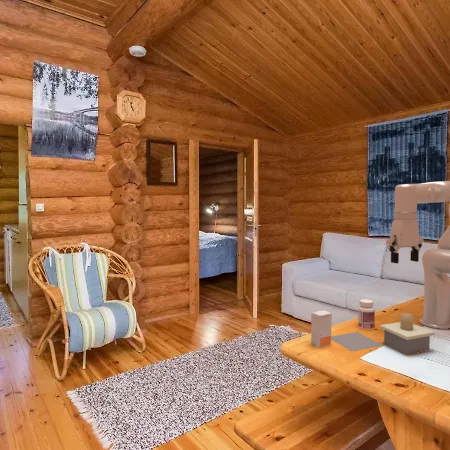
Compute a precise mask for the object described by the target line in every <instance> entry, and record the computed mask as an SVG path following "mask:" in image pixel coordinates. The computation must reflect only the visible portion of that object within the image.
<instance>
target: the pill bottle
mask: <svg viewBox="0 0 450 450" xmlns="http://www.w3.org/2000/svg"><path fill="white" fill-rule="evenodd" d="M357 309H358V310H357V311H358V314H357V315H358V319H357V321H358V322H357V324H358V328H359V329H361V330H367V331H373V330H375V325H376V323H375V322H376V321H375V319H376V318H375V316H376V315H375V314H376V313H375V308H374V301H373V300H371V299H368V298H367V299H366V298H364V299H363V298H362V299H359V307H358V308H357Z"/></svg>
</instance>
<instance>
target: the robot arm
mask: <svg viewBox="0 0 450 450" xmlns="http://www.w3.org/2000/svg"><path fill="white" fill-rule="evenodd" d="M446 202H447V203H448V202H450V180H444V181H443V180H442V181H441V180H439V181H431V182H423V183H404V184H397V185H396V186H395V188H394V220H392V223H391V228H390V235H389V238H388V239H387V240H386V241H385V244H386V247H387V249H388V250H389V252H390V263H391V264H396V265H397V264H399V262H400V261H399V254H400V253H399V250H400V249H401V248H411V250H410V257H409V258H410V261H411V262H415V263H417V262H419V260H420V259H419V253H420V251H421V248H422V246H423V243H424V241H425V240H424V238H422V237H421V236H420V230H419V223H418V222H419V221H418V204H428V203H431V204H432V203H433V204H434V203H446ZM448 216H449V217H448V218H449V219H450V204H449V205H448ZM421 261H422V262H421V263H422V267H423V273H424V274H423V275H424V276H423V277H424V283H423V285H424V288H423V292H424V293H423V295H424V296H423V316H422V317H420V318H419V320H418V321H419V324H421V325H423V326H425V327H428V328H432V329H438V328H439V330H449V329H448V328H450V277H449V276H448V275H449V274H450V224H449V225H448V227H447V228H446V229H445V230H444V233H443V234H442V235H441V236H440V237H439V239H438V242H437V248H435V247H433V248H429V249H426V250H425V251H424V252H423V253H422V257H421Z"/></svg>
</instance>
